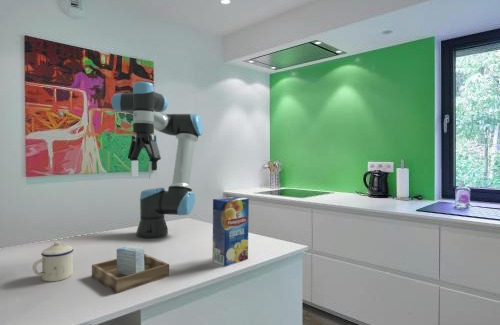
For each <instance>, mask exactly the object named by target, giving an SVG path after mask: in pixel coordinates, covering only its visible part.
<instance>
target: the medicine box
mask: <svg viewBox="0 0 500 325" xmlns="http://www.w3.org/2000/svg"><path fill="white" fill-rule="evenodd" d="M144 254H145V248H144V247H142V246H136V245H134V246H133V245H126V244H125V245H123V246H120V247H118V248H116V259H117V274H121V275H131V274H134V273H137V272H141V271H144Z"/></svg>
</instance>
